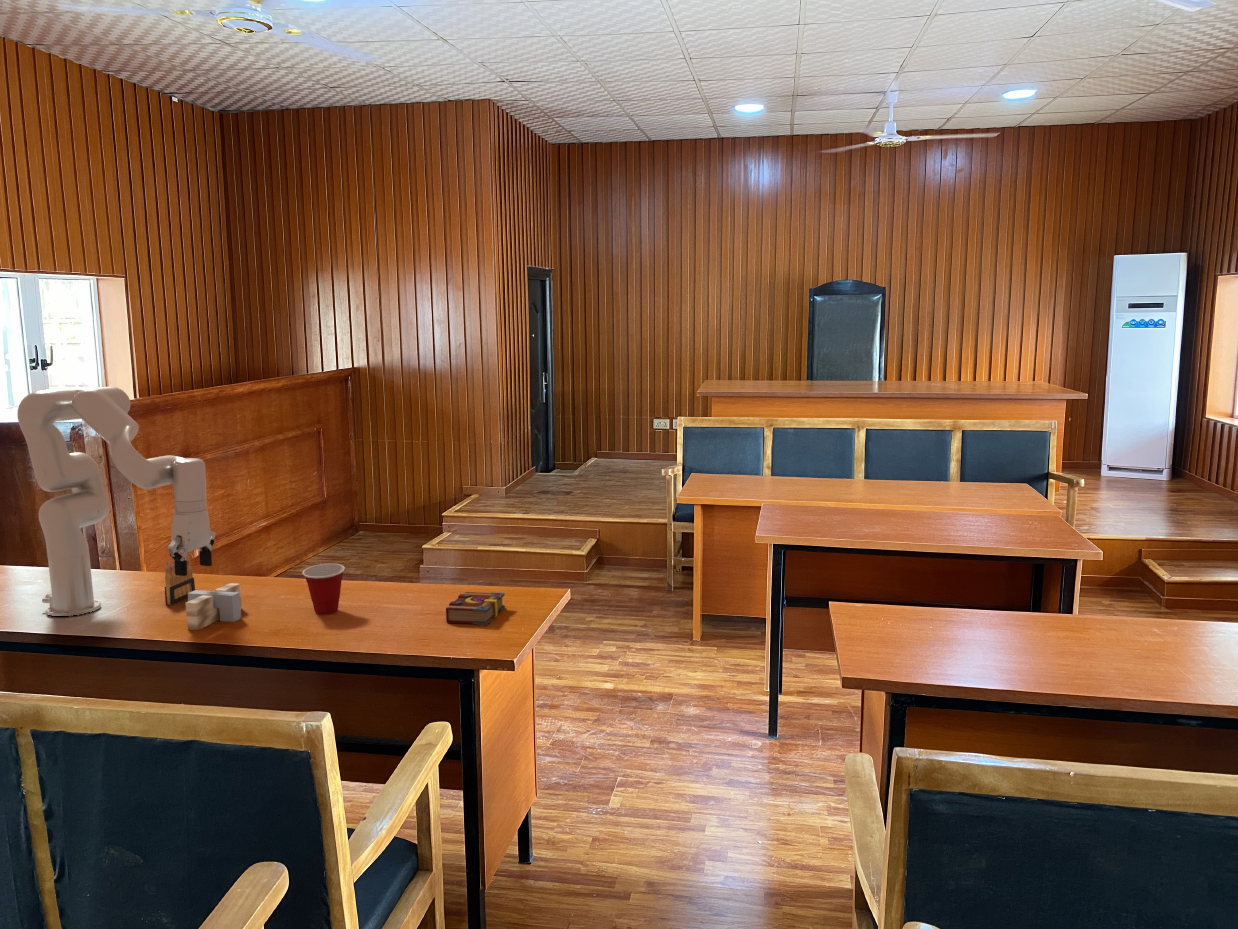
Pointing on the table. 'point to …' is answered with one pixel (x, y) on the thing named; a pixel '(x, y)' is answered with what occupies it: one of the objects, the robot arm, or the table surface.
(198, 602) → the birch block
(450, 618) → the decorative book
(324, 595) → the plastic cup
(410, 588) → the table surface
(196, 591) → the grey block
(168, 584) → the ammunition clip
